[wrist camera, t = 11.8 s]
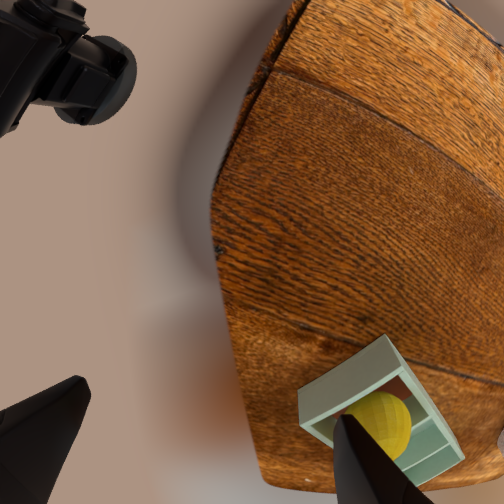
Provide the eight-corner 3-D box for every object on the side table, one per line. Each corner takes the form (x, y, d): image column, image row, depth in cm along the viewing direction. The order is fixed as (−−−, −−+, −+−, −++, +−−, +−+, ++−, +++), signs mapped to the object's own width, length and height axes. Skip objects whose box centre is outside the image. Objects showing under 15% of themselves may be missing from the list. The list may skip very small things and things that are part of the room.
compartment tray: (297, 389, 22) (299, 425, 18) (384, 333, 20) (401, 365, 16) (400, 469, 26) (407, 491, 22) (455, 436, 24) (465, 458, 20)
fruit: (333, 379, 21) (348, 461, 13) (398, 364, 20) (432, 436, 12) (336, 420, 22) (346, 492, 15) (393, 406, 21) (416, 473, 14)
